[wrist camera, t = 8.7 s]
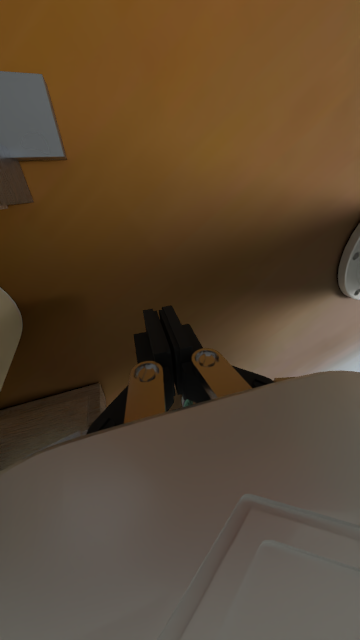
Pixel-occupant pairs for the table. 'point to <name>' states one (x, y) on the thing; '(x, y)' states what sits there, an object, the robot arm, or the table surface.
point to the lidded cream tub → (8, 332)
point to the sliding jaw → (47, 421)
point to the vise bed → (25, 132)
